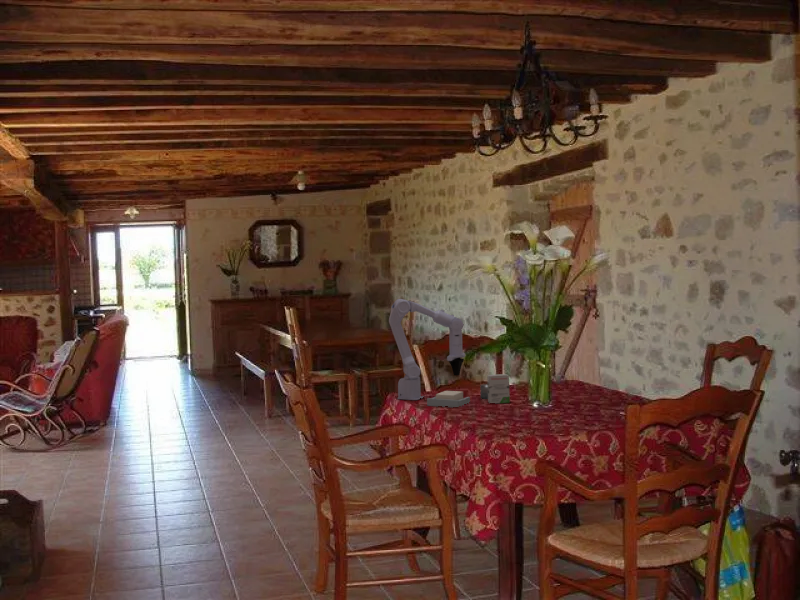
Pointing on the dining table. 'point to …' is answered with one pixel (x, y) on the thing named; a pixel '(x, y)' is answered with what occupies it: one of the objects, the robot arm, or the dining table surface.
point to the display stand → (447, 402)
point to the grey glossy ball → (484, 391)
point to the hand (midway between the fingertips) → (456, 375)
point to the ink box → (498, 388)
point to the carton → (450, 395)
